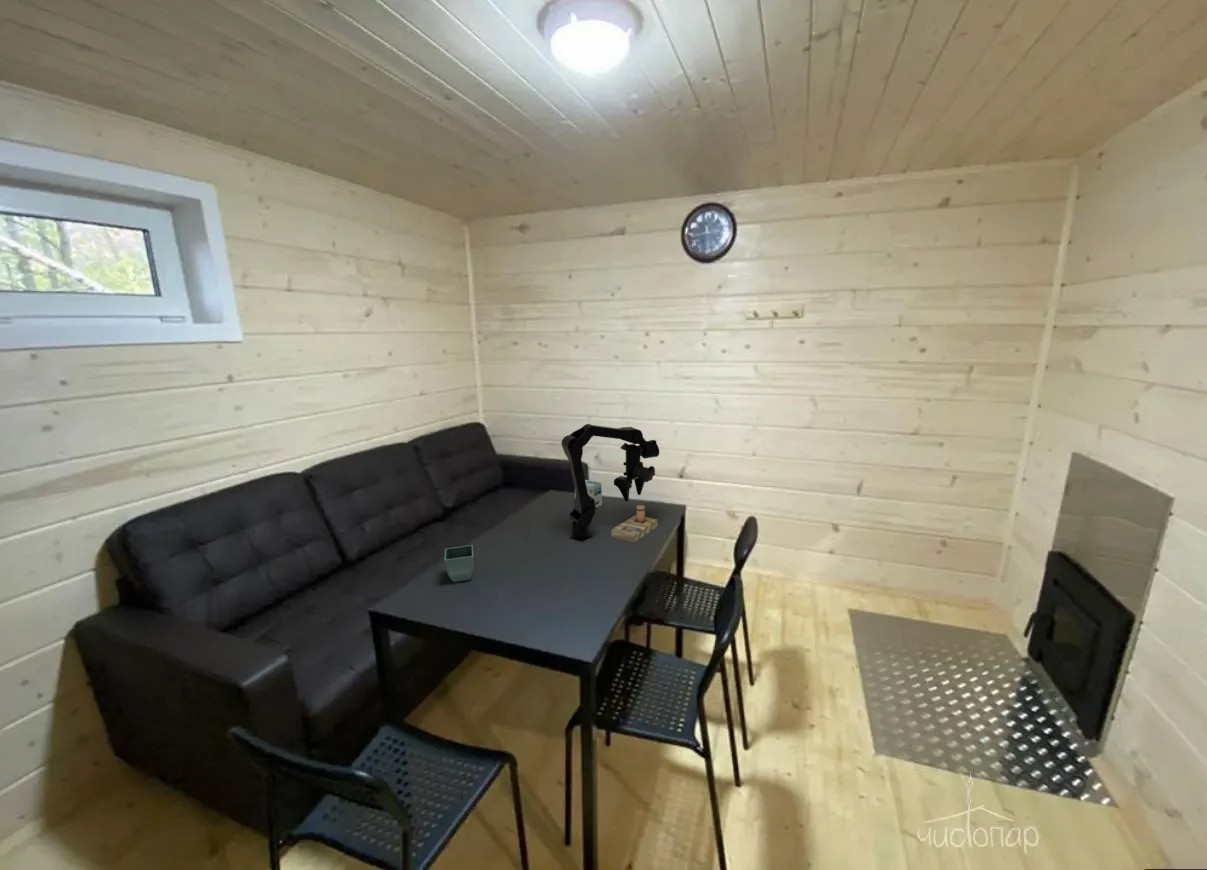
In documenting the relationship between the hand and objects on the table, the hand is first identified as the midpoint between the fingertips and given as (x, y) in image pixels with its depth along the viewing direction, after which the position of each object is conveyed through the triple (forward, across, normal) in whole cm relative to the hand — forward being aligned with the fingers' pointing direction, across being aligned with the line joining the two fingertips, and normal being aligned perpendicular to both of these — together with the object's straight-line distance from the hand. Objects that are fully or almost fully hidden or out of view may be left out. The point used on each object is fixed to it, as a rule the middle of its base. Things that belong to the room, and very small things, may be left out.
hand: (633, 498), depth 200 cm
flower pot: (+13, -66, +24) cm, 71 cm away
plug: (+12, 0, -4) cm, 12 cm away
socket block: (+12, -4, -4) cm, 13 cm away
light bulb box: (+12, +10, +30) cm, 34 cm away
